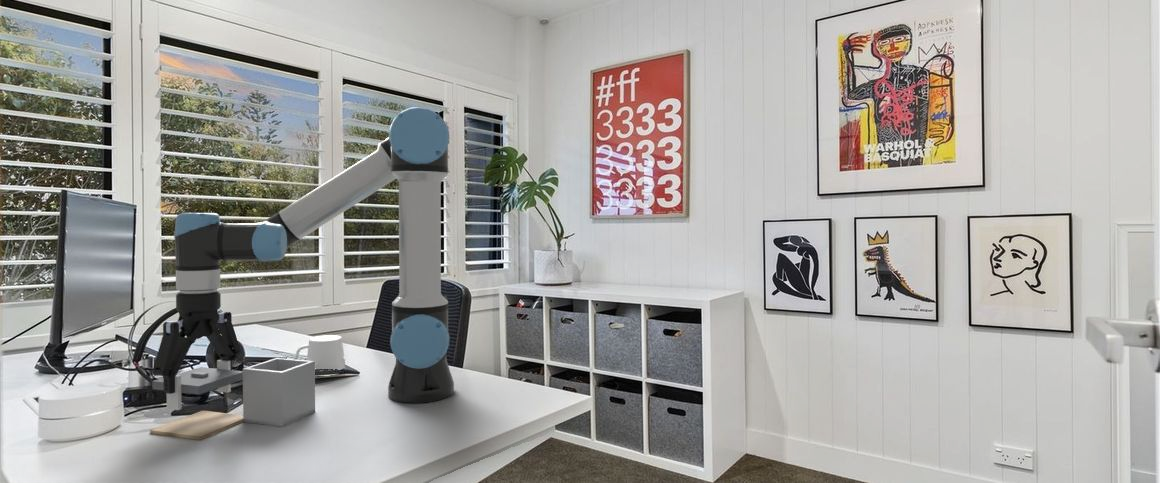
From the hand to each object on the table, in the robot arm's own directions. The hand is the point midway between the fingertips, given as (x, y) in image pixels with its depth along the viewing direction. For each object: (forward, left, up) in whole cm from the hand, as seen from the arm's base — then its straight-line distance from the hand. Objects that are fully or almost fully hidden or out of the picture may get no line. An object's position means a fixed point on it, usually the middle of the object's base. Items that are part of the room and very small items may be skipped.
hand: (200, 399), depth 123 cm
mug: (+3, -40, -6) cm, 41 cm away
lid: (0, 0, +2) cm, 2 cm away
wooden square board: (0, 0, -5) cm, 5 cm away
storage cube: (-11, -9, -5) cm, 15 cm away
